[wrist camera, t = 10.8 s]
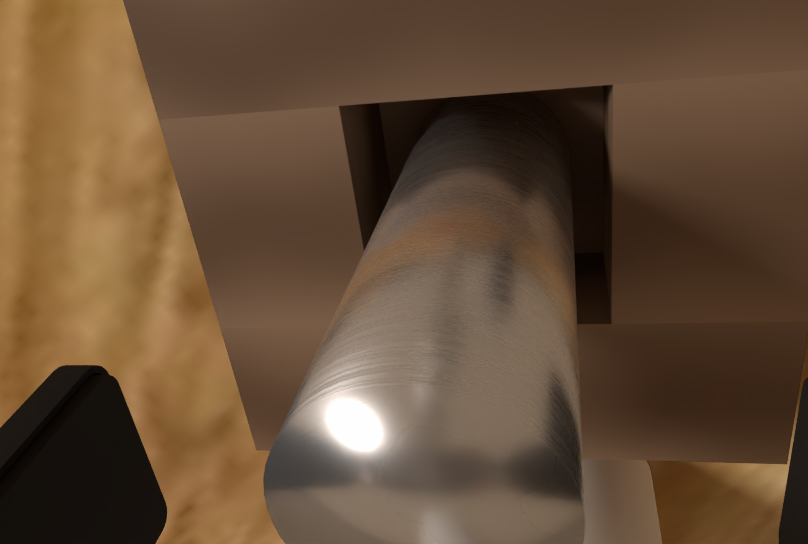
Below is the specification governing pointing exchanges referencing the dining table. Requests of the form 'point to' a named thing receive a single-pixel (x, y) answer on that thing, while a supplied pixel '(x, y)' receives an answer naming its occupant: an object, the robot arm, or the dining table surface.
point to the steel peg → (449, 353)
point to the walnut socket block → (590, 181)
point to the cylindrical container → (619, 503)
